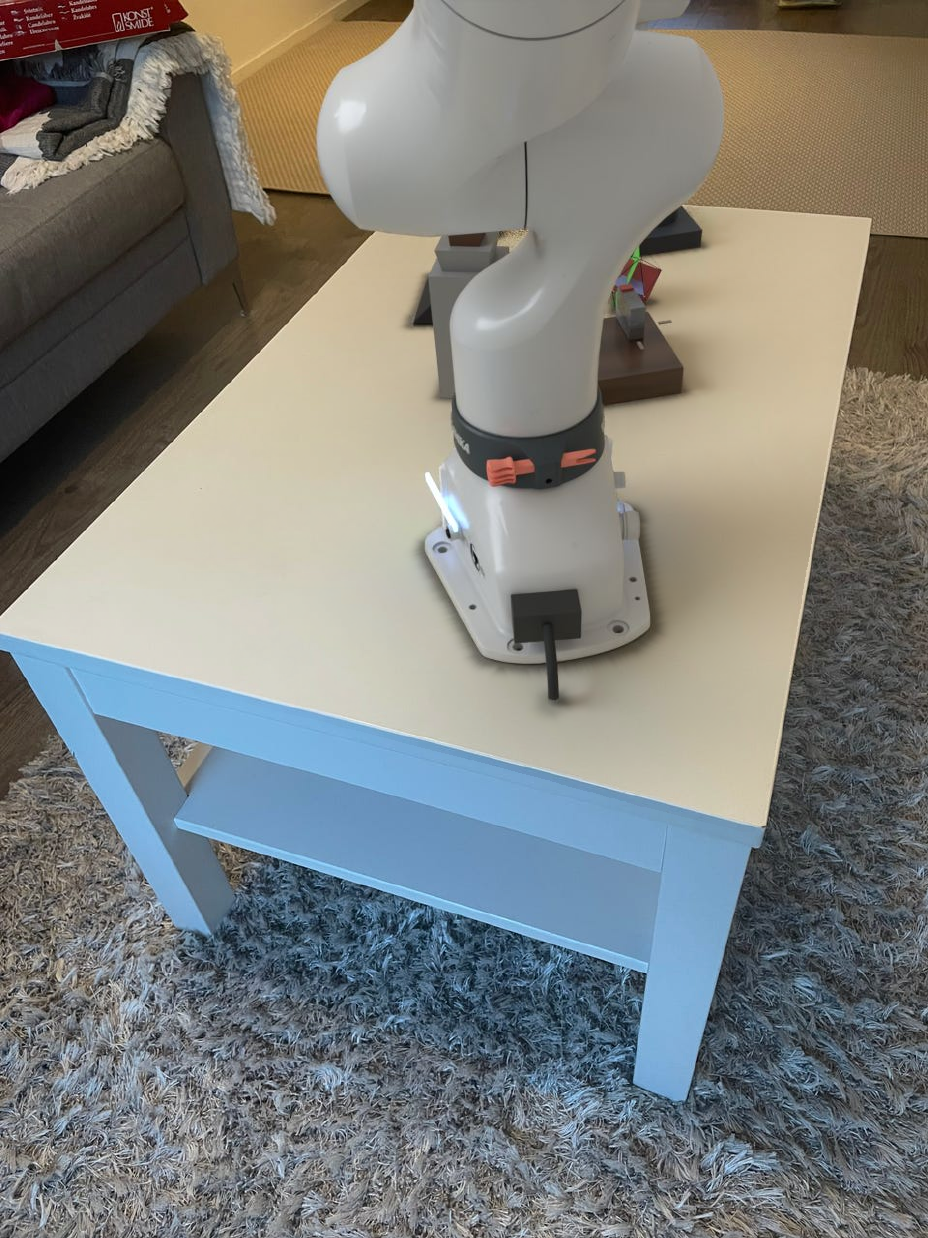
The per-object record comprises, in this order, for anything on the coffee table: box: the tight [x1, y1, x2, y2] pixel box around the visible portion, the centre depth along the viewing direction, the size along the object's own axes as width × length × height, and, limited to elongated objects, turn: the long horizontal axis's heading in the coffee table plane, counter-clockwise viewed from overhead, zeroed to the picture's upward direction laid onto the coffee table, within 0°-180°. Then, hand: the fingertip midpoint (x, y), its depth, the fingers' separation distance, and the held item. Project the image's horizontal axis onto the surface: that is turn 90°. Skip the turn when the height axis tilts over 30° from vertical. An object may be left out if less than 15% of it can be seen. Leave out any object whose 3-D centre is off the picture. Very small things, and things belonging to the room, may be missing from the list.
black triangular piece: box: [411, 257, 437, 327], centre depth 115 cm, size 12×7×5 cm, turn 173°
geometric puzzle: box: [609, 245, 663, 313], centre depth 111 cm, size 7×7×8 cm
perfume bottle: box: [427, 231, 510, 399], centre depth 97 cm, size 7×7×18 cm
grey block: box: [615, 284, 647, 340], centre depth 102 cm, size 5×2×4 cm, turn 10°
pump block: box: [631, 205, 703, 258], centre depth 124 cm, size 12×10×4 cm
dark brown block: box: [598, 307, 685, 406], centre depth 103 cm, size 14×12×3 cm
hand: (570, 85), depth 87 cm, fingers open, 8 cm apart
